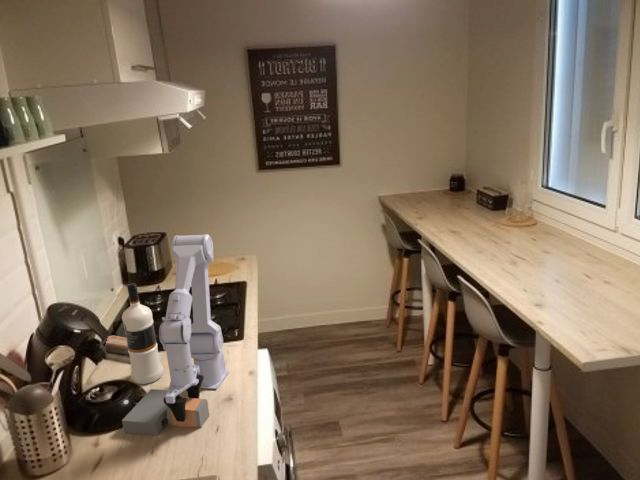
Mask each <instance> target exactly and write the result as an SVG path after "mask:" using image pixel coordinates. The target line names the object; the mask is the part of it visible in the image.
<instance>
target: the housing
mask: <svg viewBox="0 0 640 480" xmlns="http://www.w3.org/2000/svg"><path fill="white" fill-rule="evenodd" d="M182 398H187V401H186V405H185V416H186V417H185V421H184V422H180V421H176V419H175V417H174V415H173V413H172V411H171V410H170V408H169V407H168V406H167V407H166V411H167V415H166V417H167V421H168V422H167V423H168V425H169V426H177V427H178V426H179V427H186V428H187V427H189V428H196V429H197V428H199V429H202V427H203V426H204V424H205V423H206V421H208V419H209V417H210V411H209V410H210V409H209V402H208V399H207V398H199V399H197V398H188V397H184V396H182Z"/></svg>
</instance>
